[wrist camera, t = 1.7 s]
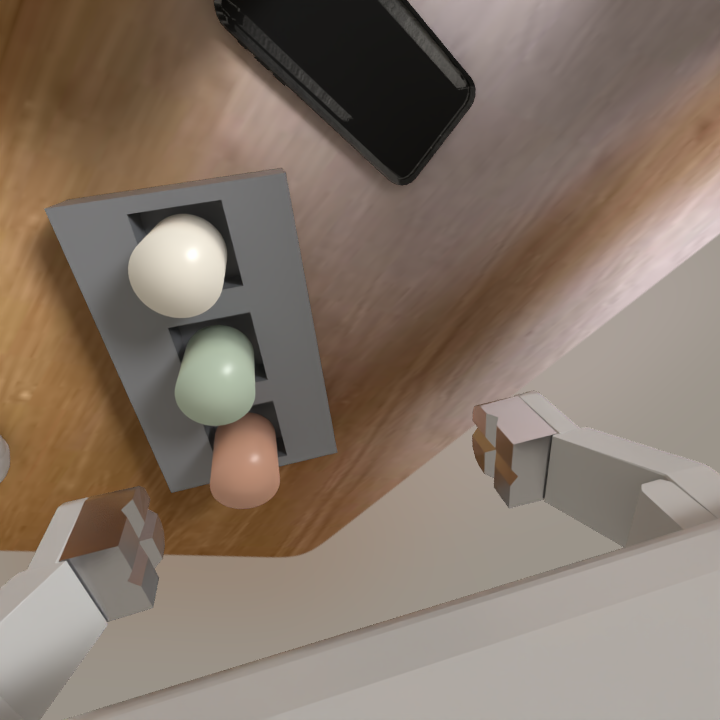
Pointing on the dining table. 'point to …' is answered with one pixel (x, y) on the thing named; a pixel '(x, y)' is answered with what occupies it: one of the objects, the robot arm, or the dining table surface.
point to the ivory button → (179, 266)
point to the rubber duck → (4, 458)
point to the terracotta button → (245, 463)
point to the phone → (361, 72)
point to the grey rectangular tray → (233, 308)
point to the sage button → (216, 376)
